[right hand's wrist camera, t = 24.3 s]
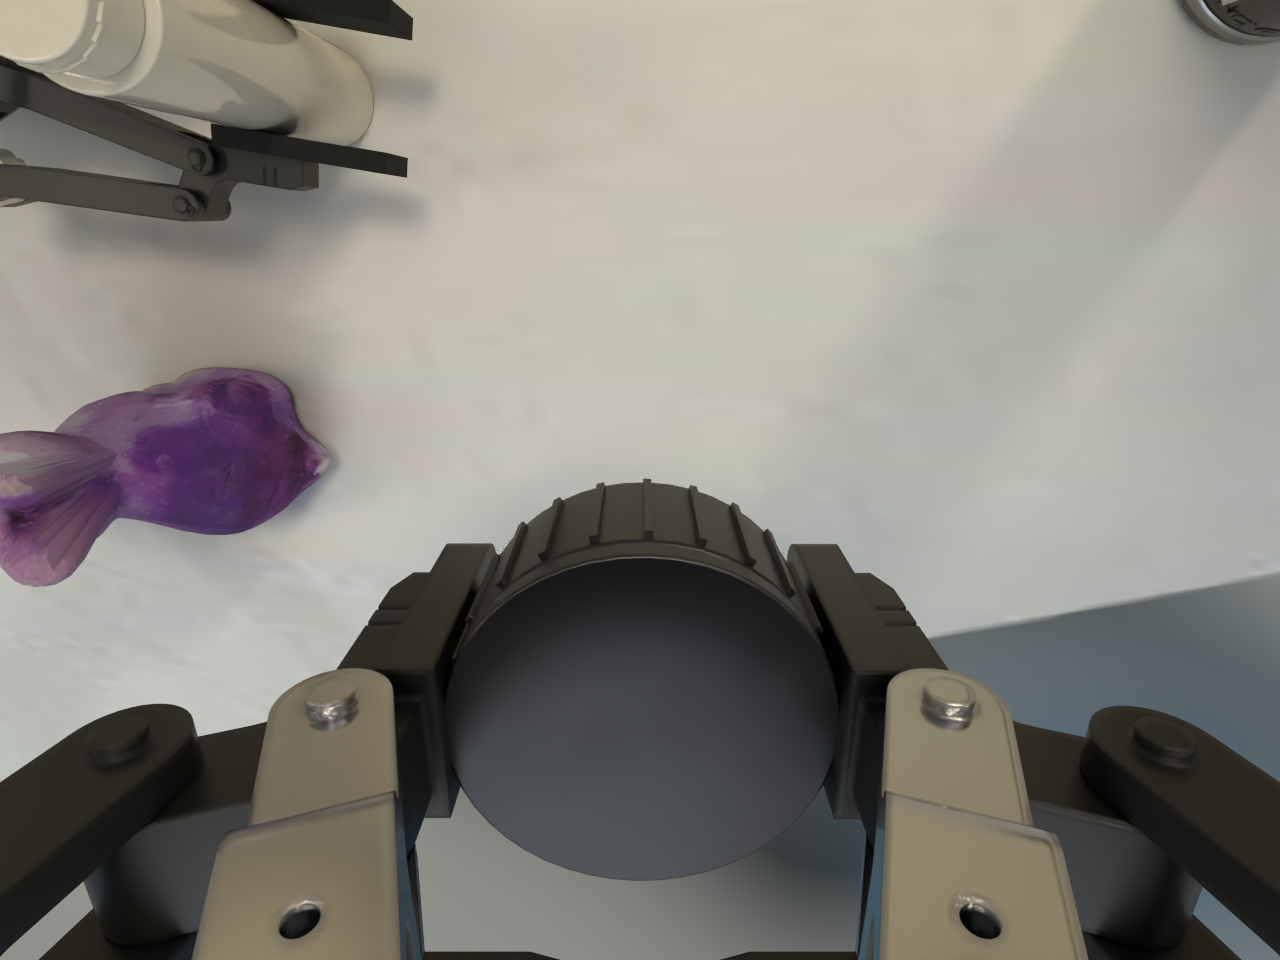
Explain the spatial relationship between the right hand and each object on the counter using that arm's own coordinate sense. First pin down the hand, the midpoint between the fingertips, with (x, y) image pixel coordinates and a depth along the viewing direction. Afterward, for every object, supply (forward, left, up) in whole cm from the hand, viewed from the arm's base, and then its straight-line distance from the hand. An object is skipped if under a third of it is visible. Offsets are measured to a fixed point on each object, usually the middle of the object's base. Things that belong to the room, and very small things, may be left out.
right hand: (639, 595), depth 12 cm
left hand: (-5, -13, -20) cm, 25 cm away
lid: (0, 0, +3) cm, 3 cm away
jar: (-3, -18, -27) cm, 33 cm away
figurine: (+15, -18, -27) cm, 36 cm away
